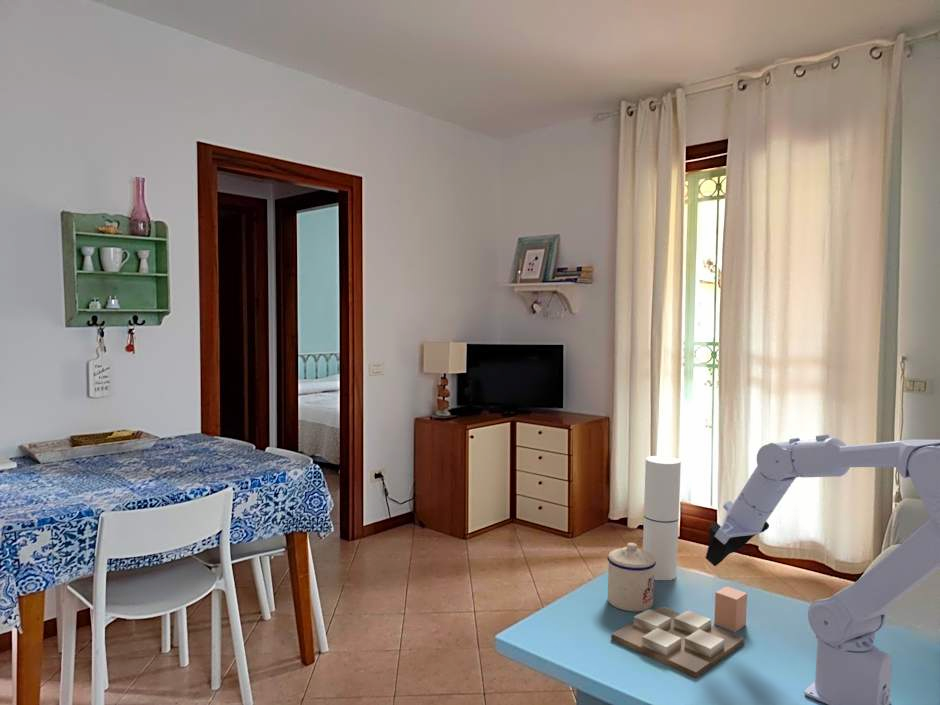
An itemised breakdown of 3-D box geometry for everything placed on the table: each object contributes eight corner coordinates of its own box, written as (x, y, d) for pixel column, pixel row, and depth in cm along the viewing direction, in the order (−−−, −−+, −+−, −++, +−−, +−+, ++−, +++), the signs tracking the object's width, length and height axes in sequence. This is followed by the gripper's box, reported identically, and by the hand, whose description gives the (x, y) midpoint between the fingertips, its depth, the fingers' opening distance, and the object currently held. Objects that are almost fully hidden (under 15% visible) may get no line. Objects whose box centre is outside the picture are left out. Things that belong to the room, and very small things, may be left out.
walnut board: (743, 643, 116) (744, 629, 116) (695, 678, 106) (696, 663, 105) (661, 611, 128) (662, 598, 128) (611, 639, 117) (611, 625, 117)
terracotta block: (745, 624, 123) (747, 593, 123) (735, 632, 121) (736, 599, 120) (724, 617, 126) (726, 586, 126) (714, 623, 124) (715, 592, 123)
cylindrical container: (641, 578, 143) (645, 462, 141) (642, 565, 150) (646, 454, 148) (676, 582, 141) (680, 465, 139) (676, 569, 148) (680, 457, 146)
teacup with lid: (653, 616, 126) (655, 555, 125) (604, 609, 129) (605, 549, 128) (655, 589, 138) (657, 533, 137) (609, 583, 140) (611, 529, 139)
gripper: (758, 471, 121) (724, 524, 128) (715, 497, 111) (682, 552, 118) (793, 498, 116) (756, 550, 124) (752, 527, 107) (715, 582, 114)
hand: (722, 553), depth 121 cm, fingers open, 7 cm apart
